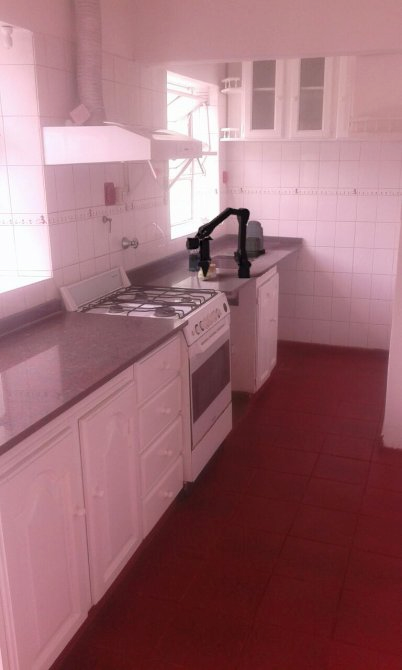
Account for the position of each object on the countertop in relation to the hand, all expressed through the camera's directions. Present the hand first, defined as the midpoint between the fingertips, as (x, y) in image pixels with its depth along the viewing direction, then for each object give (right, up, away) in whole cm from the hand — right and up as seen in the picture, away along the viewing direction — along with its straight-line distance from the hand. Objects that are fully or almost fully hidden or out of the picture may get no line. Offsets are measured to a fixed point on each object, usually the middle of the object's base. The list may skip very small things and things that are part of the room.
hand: (205, 276), depth 349 cm
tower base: (+1, +1, +15) cm, 15 cm away
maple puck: (0, -1, 0) cm, 1 cm away
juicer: (+35, +24, +93) cm, 103 cm away
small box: (-4, +7, +36) cm, 37 cm away
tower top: (+2, +4, +14) cm, 15 cm away
